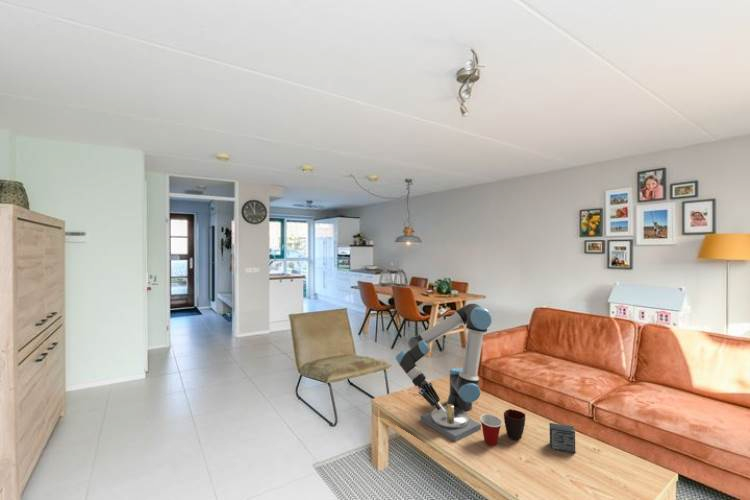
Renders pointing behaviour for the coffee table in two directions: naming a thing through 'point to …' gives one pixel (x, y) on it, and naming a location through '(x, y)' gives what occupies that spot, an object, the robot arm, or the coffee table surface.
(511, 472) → the coffee table surface
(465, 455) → the coffee table surface
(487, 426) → the plastic cup
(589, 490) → the coffee table surface
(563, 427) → the small box
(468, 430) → the stand
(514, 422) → the mug
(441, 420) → the silver disc with stripe
